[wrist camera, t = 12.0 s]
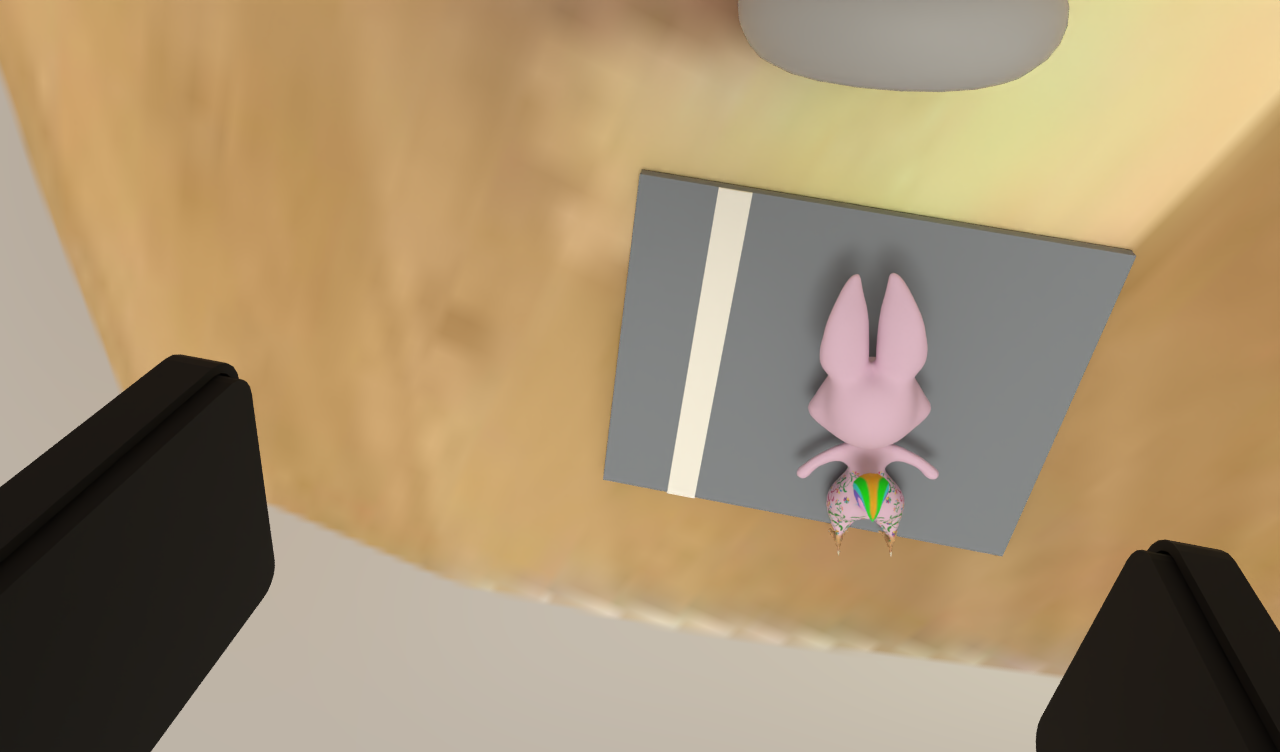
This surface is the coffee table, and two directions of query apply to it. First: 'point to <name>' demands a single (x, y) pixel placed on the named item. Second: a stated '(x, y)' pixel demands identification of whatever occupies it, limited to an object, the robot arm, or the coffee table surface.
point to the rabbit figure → (870, 405)
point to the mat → (793, 331)
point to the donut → (905, 40)
